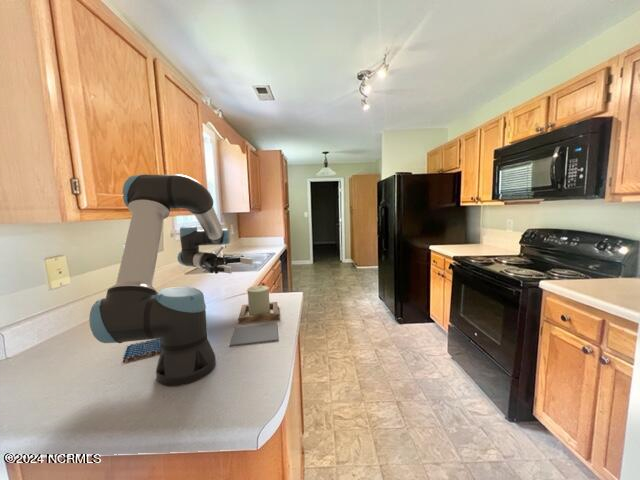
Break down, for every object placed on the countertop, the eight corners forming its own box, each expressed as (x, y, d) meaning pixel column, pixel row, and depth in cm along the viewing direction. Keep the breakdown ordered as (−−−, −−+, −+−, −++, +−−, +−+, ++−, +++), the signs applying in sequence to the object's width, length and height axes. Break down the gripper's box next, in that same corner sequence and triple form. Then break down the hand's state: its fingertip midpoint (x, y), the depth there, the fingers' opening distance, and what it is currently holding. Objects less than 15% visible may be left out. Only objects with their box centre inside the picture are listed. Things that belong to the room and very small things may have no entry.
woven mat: (163, 355, 86) (163, 349, 85) (123, 365, 80) (122, 358, 80) (164, 341, 95) (163, 336, 94) (127, 350, 90) (127, 344, 89)
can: (272, 310, 121) (271, 284, 120) (266, 318, 112) (265, 290, 111) (253, 310, 122) (251, 284, 121) (245, 318, 113) (243, 290, 111)
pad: (229, 346, 89) (229, 344, 89) (234, 328, 102) (234, 327, 102) (278, 340, 92) (278, 339, 92) (276, 324, 105) (276, 323, 105)
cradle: (238, 323, 107) (238, 318, 107) (242, 309, 123) (242, 304, 123) (278, 319, 110) (278, 314, 110) (277, 306, 126) (277, 301, 126)
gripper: (226, 261, 137) (260, 266, 128) (183, 276, 114) (221, 283, 106) (225, 247, 135) (259, 250, 127) (181, 259, 113) (219, 265, 104)
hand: (242, 265), depth 116 cm, fingers open, 13 cm apart
